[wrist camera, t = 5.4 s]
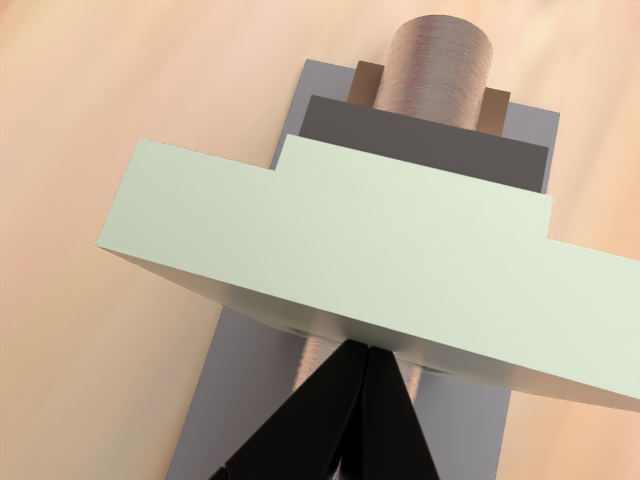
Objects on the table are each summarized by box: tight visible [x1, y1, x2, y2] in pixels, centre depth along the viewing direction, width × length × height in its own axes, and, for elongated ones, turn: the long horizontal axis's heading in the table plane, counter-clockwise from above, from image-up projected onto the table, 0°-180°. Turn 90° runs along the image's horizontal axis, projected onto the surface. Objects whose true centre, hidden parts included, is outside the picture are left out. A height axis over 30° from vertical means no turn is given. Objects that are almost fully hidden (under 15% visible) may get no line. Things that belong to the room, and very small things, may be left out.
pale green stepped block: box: [95, 134, 640, 412], centre depth 10 cm, size 4×6×11 cm, turn 74°
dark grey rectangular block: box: [298, 95, 549, 193], centre depth 13 cm, size 1×5×5 cm, turn 74°
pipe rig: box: [166, 15, 560, 480], centre depth 13 cm, size 21×10×6 cm, turn 164°
